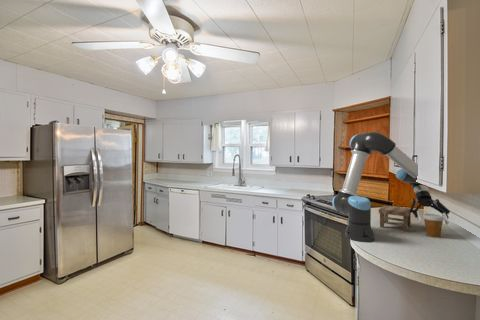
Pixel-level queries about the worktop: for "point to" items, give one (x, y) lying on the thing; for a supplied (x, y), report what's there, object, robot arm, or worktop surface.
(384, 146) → the robot arm
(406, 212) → the walnut stool
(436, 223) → the disposable coffee cup
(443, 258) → the worktop surface
